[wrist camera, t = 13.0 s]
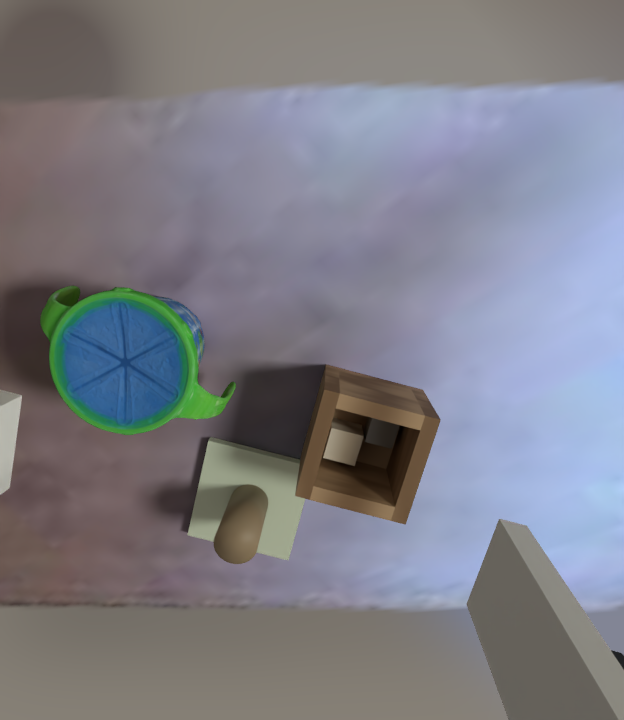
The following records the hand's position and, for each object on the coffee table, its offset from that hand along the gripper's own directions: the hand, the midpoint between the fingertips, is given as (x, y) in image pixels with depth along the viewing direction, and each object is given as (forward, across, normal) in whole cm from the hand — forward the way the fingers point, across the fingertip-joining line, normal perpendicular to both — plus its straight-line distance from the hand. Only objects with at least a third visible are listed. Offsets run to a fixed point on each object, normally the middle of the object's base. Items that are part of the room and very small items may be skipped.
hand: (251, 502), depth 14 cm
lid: (+33, -1, -18) cm, 38 cm away
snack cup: (+33, -12, -5) cm, 35 cm away
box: (+33, +7, -8) cm, 34 cm away
